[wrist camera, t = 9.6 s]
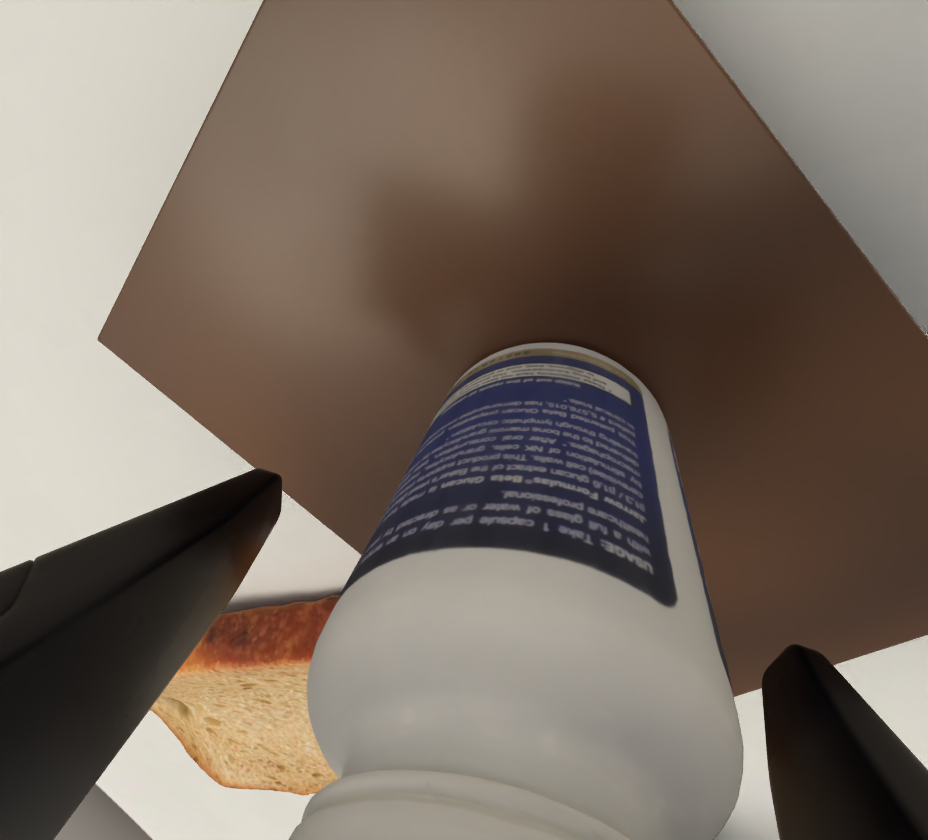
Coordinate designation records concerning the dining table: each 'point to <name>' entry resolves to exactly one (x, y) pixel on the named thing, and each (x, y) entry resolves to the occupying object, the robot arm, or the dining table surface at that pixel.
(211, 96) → the dining table surface
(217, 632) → the slice of bread
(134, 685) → the robot arm
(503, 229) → the walnut board
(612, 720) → the pill bottle
